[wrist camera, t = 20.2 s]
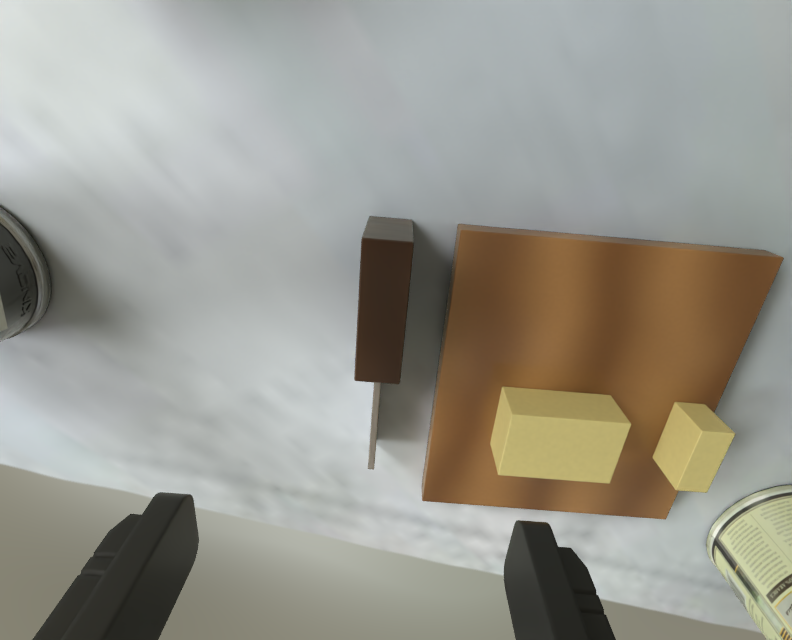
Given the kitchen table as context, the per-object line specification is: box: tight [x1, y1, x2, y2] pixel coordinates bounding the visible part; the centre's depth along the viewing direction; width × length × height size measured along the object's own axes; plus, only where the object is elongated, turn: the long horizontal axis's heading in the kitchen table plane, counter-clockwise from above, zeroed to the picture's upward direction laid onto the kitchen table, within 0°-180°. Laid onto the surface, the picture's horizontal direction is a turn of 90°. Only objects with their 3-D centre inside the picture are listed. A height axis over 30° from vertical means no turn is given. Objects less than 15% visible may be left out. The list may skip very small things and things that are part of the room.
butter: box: [490, 387, 631, 484], centre depth 29 cm, size 7×5×3 cm, turn 85°
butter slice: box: [653, 402, 735, 493], centre depth 29 cm, size 2×5×3 cm, turn 175°
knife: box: [354, 216, 414, 469], centre depth 27 cm, size 2×16×5 cm, turn 175°
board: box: [422, 224, 784, 519], centre depth 30 cm, size 18×20×2 cm
